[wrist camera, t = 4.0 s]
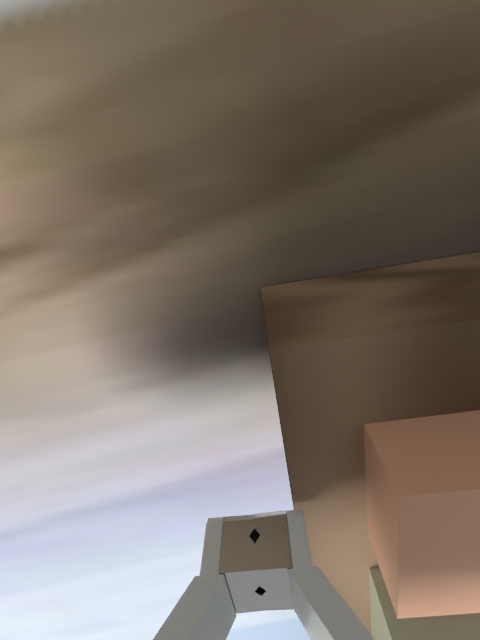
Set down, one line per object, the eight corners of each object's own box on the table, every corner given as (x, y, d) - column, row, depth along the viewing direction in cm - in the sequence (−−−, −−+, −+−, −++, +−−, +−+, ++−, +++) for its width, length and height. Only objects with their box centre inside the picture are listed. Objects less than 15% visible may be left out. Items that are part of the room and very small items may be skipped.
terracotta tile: (367, 533, 12) (397, 618, 9) (363, 424, 10) (399, 496, 8) (513, 520, 11) (581, 605, 9) (538, 402, 9) (632, 473, 7)
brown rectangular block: (297, 527, 20) (316, 654, 15) (260, 287, 14) (268, 349, 9) (497, 508, 19) (597, 636, 14) (545, 241, 13) (754, 279, 8)
